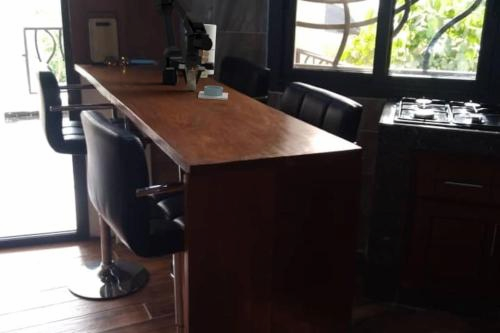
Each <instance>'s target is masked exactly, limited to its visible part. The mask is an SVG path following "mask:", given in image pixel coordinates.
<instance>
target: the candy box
mask: <svg viewBox="0 0 500 333" xmlns="http://www.w3.org/2000/svg"><path fill="white" fill-rule="evenodd" d="M199 56H202V63H205V62H208V60H209V51H203V50H200V54H199ZM198 69H199V67H197V68H191V70H193V71H197V74H198ZM208 75H209V74H208V70H206V69H205V72H202V73H201V75H200V78H199V79H208ZM196 78H197V76H196Z"/></svg>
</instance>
